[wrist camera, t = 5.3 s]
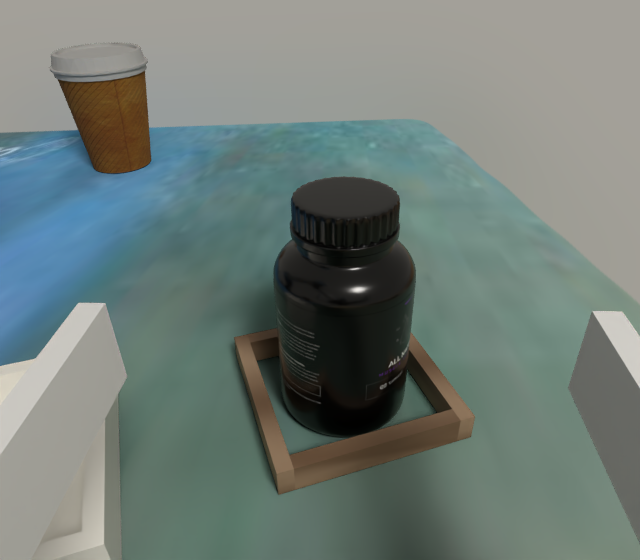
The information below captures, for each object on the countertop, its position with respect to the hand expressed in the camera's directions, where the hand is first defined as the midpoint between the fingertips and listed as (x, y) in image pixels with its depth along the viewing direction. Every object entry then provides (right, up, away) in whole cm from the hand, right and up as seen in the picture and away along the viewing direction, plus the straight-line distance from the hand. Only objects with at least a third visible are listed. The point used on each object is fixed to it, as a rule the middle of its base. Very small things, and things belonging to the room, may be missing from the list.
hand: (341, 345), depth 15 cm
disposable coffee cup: (-23, +15, +46) cm, 53 cm away
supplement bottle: (+1, -5, +15) cm, 16 cm away
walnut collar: (+1, -4, +15) cm, 16 cm away
